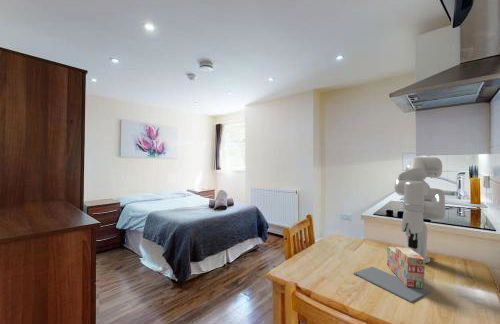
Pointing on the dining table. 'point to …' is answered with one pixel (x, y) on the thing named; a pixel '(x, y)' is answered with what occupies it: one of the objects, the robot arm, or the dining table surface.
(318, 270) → the dining table surface
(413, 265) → the stack of blocks
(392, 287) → the mat
